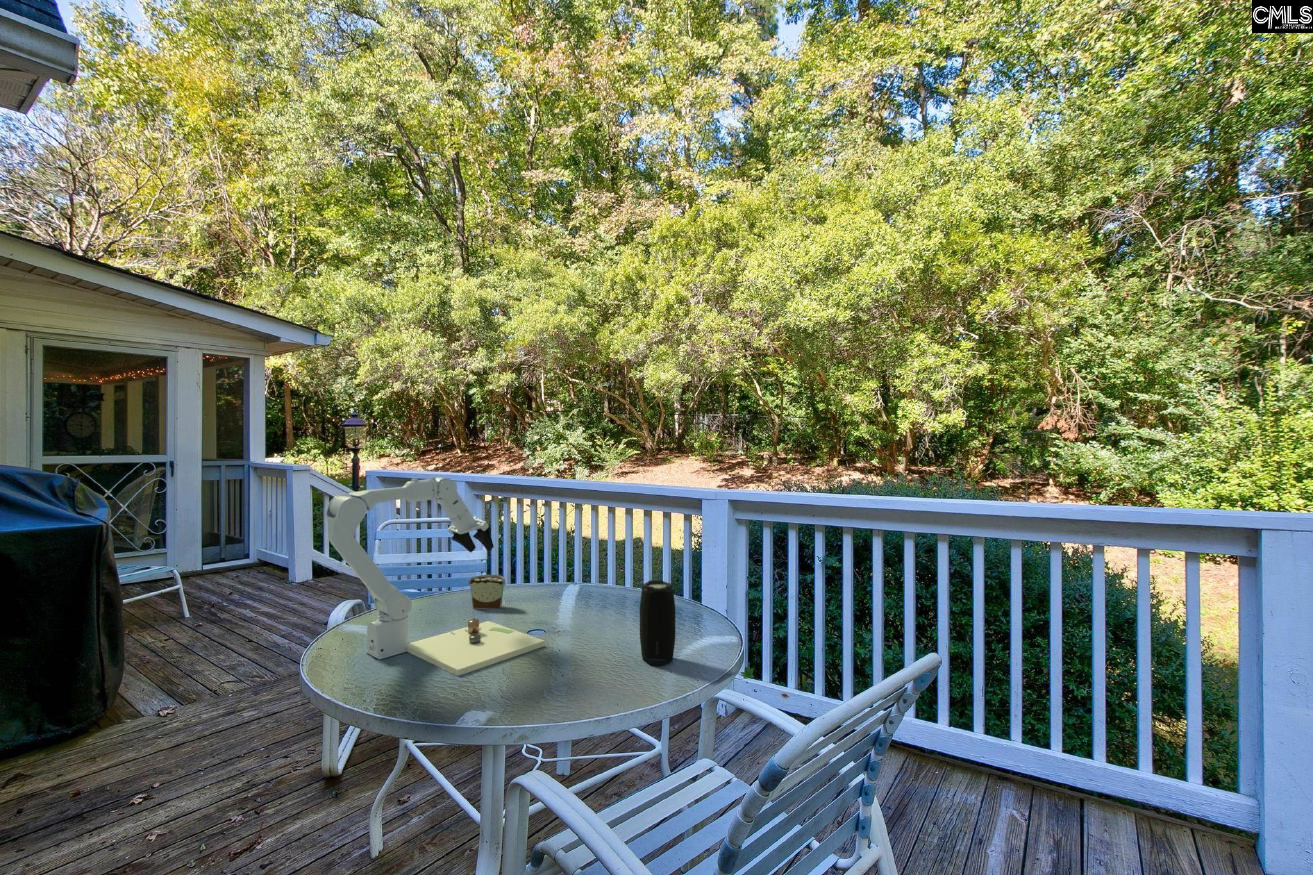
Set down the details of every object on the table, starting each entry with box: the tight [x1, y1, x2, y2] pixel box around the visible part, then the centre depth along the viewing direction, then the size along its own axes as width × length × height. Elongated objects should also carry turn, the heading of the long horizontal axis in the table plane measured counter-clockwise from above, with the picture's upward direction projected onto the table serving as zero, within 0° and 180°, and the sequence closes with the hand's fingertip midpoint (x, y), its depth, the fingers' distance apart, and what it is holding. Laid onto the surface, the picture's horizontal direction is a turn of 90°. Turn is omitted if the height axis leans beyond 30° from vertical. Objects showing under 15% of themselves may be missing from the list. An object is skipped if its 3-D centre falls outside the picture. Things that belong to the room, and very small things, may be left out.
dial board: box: [406, 620, 545, 677], centre depth 159 cm, size 26×26×2 cm
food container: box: [468, 574, 507, 610], centre depth 197 cm, size 12×6×10 cm, turn 84°
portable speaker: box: [639, 579, 676, 667], centre depth 150 cm, size 9×9×20 cm
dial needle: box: [467, 618, 481, 643], centre depth 163 cm, size 12×3×3 cm, turn 20°
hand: (481, 549), depth 175 cm, fingers open, 7 cm apart
